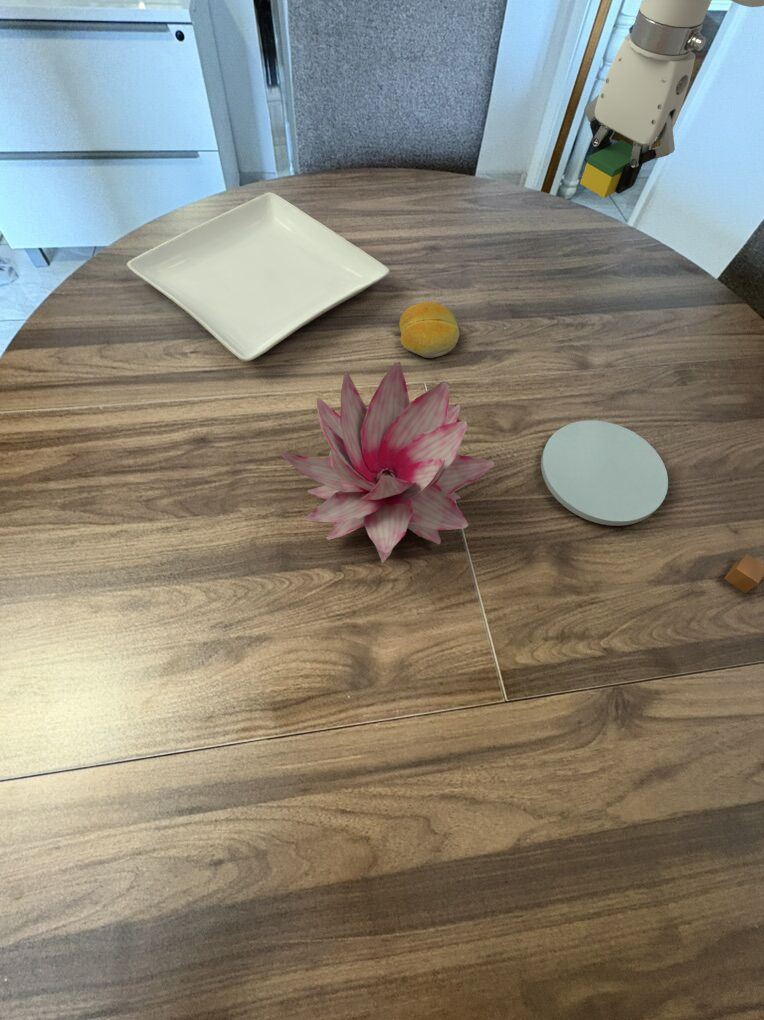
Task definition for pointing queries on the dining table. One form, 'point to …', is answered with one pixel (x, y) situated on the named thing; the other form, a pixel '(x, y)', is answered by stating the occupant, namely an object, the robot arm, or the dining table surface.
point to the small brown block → (745, 573)
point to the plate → (604, 473)
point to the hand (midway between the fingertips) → (608, 180)
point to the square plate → (257, 273)
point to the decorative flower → (391, 463)
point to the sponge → (606, 168)
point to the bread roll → (428, 330)
